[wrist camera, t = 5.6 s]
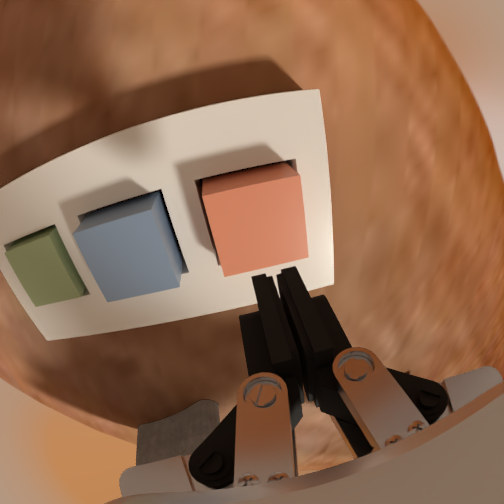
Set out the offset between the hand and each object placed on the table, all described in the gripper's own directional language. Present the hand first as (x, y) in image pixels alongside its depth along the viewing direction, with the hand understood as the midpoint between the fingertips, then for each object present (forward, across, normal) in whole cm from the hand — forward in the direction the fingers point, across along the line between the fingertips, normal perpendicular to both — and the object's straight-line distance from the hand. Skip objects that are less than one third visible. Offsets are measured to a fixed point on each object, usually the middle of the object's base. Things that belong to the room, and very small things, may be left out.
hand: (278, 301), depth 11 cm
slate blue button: (+9, +8, 0) cm, 12 cm away
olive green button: (+10, +16, 0) cm, 19 cm away
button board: (+11, +8, 0) cm, 13 cm away
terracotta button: (+9, 0, 0) cm, 9 cm away
